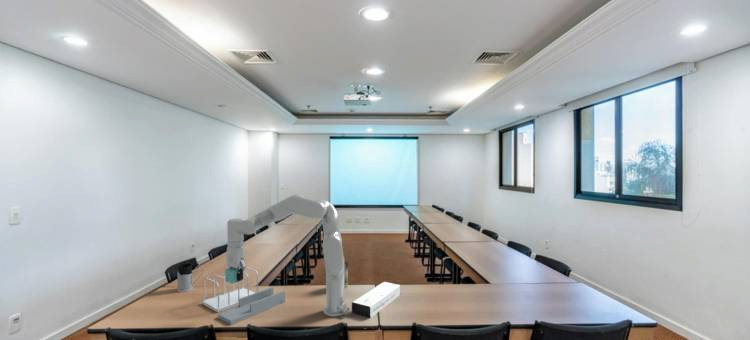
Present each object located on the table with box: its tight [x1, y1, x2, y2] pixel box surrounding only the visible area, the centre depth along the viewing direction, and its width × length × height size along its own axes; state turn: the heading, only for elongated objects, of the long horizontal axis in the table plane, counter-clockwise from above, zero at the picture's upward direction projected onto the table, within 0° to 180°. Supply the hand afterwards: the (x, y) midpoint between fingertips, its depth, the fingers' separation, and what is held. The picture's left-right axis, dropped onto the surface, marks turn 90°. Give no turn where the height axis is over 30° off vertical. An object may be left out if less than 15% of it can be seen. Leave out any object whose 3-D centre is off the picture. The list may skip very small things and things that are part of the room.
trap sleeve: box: [217, 286, 286, 326], centre depth 174 cm, size 12×32×6 cm, turn 144°
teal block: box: [224, 267, 242, 285], centre depth 166 cm, size 6×6×6 cm
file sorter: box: [201, 266, 259, 314], centre depth 186 cm, size 25×17×16 cm
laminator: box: [351, 281, 401, 319], centre depth 182 cm, size 34×12×6 cm, turn 149°
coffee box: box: [344, 260, 349, 289], centre depth 204 cm, size 9×6×16 cm
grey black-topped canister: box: [176, 263, 204, 293], centre depth 204 cm, size 9×14×15 cm, turn 118°
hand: (236, 278), depth 166 cm, fingers closed on teal block, 6 cm apart
